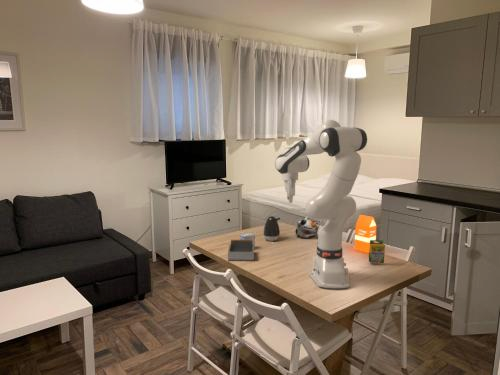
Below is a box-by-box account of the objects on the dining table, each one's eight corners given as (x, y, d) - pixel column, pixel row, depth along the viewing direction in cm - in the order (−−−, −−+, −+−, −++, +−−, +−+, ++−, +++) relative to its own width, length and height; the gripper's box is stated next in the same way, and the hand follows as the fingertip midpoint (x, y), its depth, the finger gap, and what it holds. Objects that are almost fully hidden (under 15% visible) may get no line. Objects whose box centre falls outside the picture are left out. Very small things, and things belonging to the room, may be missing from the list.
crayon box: (370, 263, 197) (371, 241, 196) (368, 261, 200) (369, 239, 198) (384, 263, 197) (385, 241, 195) (382, 261, 200) (383, 240, 198)
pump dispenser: (280, 242, 233) (280, 218, 230) (263, 242, 233) (263, 218, 231) (279, 237, 243) (279, 214, 241) (263, 237, 243) (263, 214, 241)
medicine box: (250, 247, 224) (250, 232, 222) (254, 248, 220) (255, 234, 219) (239, 249, 219) (239, 235, 217) (244, 251, 215) (244, 236, 214)
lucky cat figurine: (319, 233, 249) (320, 214, 244) (317, 243, 239) (319, 223, 233) (296, 231, 253) (297, 212, 247) (293, 240, 242) (295, 220, 236)
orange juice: (367, 252, 214) (369, 218, 211) (354, 249, 220) (355, 215, 217) (375, 250, 219) (377, 216, 216) (361, 246, 225) (363, 213, 222)
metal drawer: (253, 261, 200) (253, 247, 199) (227, 260, 200) (227, 247, 199) (253, 252, 213) (253, 239, 212) (229, 252, 213) (229, 239, 212)
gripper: (298, 179, 201) (297, 204, 203) (293, 174, 221) (293, 197, 223) (286, 179, 201) (285, 204, 203) (282, 174, 221) (282, 197, 223)
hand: (289, 201), depth 213 cm, fingers open, 8 cm apart
